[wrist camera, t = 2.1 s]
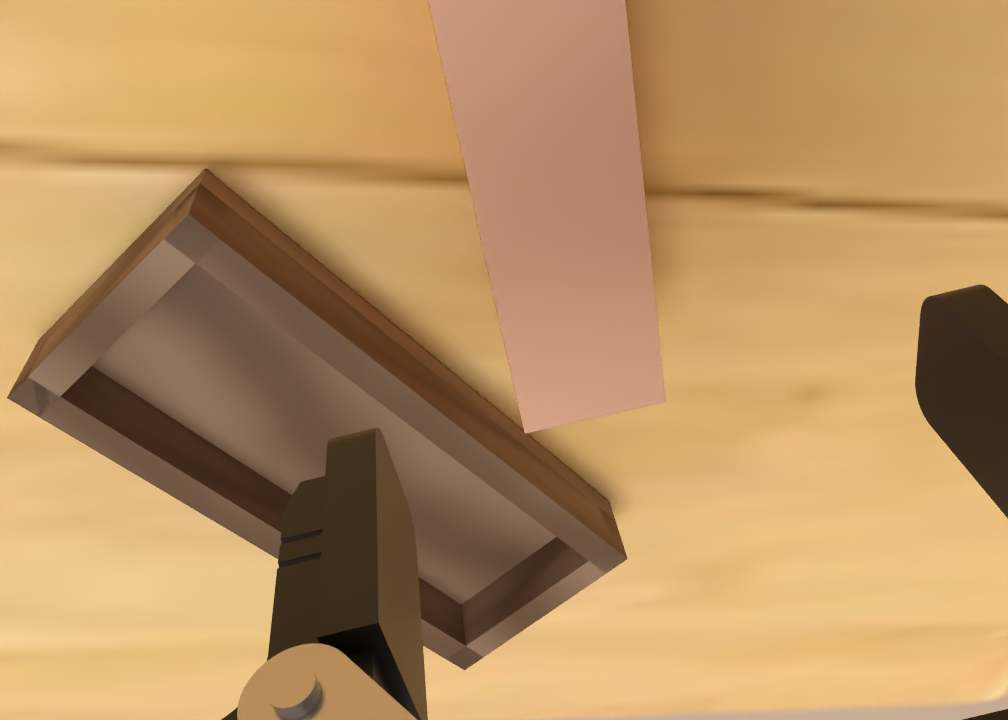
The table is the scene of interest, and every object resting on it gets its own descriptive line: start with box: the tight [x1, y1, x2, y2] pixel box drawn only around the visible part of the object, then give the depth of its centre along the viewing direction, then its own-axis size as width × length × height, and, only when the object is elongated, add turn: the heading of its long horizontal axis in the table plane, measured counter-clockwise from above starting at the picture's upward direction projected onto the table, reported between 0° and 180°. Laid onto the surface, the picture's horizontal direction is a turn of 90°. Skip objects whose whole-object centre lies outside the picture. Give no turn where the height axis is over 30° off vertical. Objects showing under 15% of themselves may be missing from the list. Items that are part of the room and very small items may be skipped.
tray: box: [7, 169, 627, 670], centre depth 30 cm, size 8×19×3 cm, turn 42°
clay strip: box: [428, 0, 666, 434], centre depth 23 cm, size 15×4×6 cm, turn 11°
